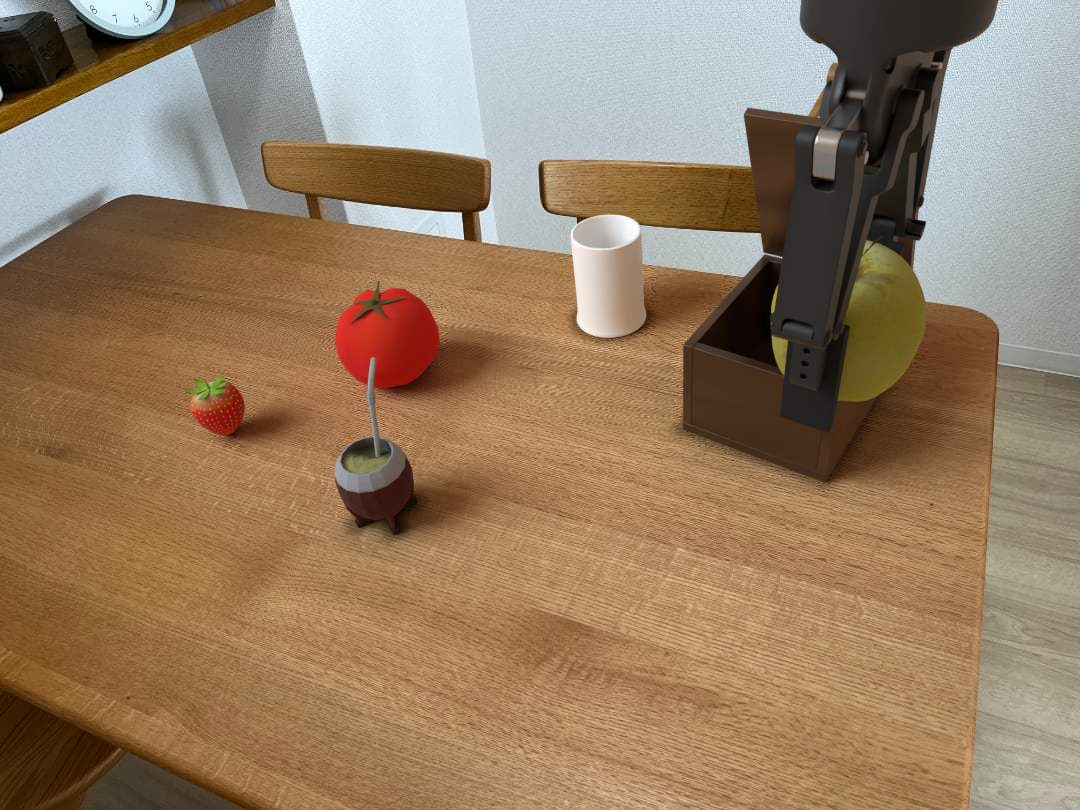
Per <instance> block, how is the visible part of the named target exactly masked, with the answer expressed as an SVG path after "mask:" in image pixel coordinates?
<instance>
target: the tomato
mask: <svg viewBox="0 0 1080 810" xmlns="http://www.w3.org/2000/svg"><path fill="white" fill-rule="evenodd" d="M347 307H348V308H346V309H345V310H343V312H342V313H341V315H339V317H338V320H337V324H336V328H335V333H334V346H335V349H336V353H337V356H338V359H339V361H340V362H341V364H342V366H343V367H344V369H345V370H346V371H347V372H348V373H349V374H350V376H352V377H353V378H354V379H355V380H356V381H357V382H360V383H361V384H363V385H366V386H368V377H369V369H370V361H371V358H376V366H375V375H374V389H375V388H376V389H386V388H387V389H388V388H394V387H401V386H404V385H408V384H410V383H412V382H414V381H415V380H417V379H418V378H419V377H420V376H421V375H422V374H423V373H424V372H425V371H426V370H427V369H428V367H429V366H430V365H431V364H432V362H433V361H434V360H435V359H436V356H437V353H438V350H439V347H440V345H441V340H440V339H441V338H440V331H439V330H440V329H439V325H438V324H437V321H436V320H435V318H434V315H433V313H432V312H431V309H430V308H429V307H428V305H426V303H425V302H424V301H423V300H422V299H421V298H420V297H418V296H416V295H415V294H414V293H412V292H410V291H409V290H407V289H406V288H400V287H399V288H398V287H389V288H387V289H385V290H384V291H382V292H380V280H378V281H377V283H376V288H375V290H373V289H366V290H364V291H363V292H361V293H359V294H358V295H356V296H355V297H354V300H353V301H352V303H351V304H350V305H347Z"/></svg>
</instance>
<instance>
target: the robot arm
mask: <svg viewBox="0 0 1080 810" xmlns="http://www.w3.org/2000/svg"><path fill="white" fill-rule="evenodd" d="M998 4H999V0H800V7H799V24H800V25H799V26H800V28H801V29H802V32H803V33H804V34H805V35H806V37H808V39H809V40H812V41H813V42H814V43H817V44H819V45H823V46H825V47H827V48H828V49H829V50H831V52H832V53H833V54H834V55H835V56H836V58H837V61H836V62H837V63H838V66H837V67H836V69H835V73H834V78H833V80H829V81H828V83H827V84H826V83H825V85H826V87H825V86H824V87H825V89H824V88H823V89H824V93H823V97H822V101H821V105H820V109H819V117H818V118H820V120H821V122H822V123H821V126H815V125H808V124H803V125H802V126H801V128H800V130H799V132H798V134H797V136H796V139H795V176H794V188H793V195H792V201H791V207H790V214H789V220H788V226H787V233H786V239H785V245H784V252H783V257H781V258H782V264H781V271H780V277H779V283H778V290H777V296H776V303H775V309H774V312H773V313H771V316H770V321H771V323H772V324H771V335H772V336H774V337H778V338H781V339H784V340H788V345H787V354H786V363H785V372H784V381H783V391H782V400H781V409H780V417H782V418H785V419H788V420H791V421H794V422H797V423H800V424H803V425H806V426H809V427H812V428H815V429H818V430H821V431H824V432H827V433H828V432H829V431H830V429H831V428H832V426H833V424H834V418H835V412H836V406H837V401H838V395H839V389H840V383H841V377H842V371H843V365H844V359H845V354H846V348H847V342H848V336H849V330H850V326H849V325H845V324H844V320H845V316H846V313H847V309H848V305H849V302H850V298H851V294H852V291H853V287H854V284H855V280H856V276H857V273H858V269H859V265H860V262H861V258H862V254H863V251H864V247H865V244H866V240H868V241H872V242H874V241H875V240H877V239H878V238H879V237H881V236H885V237H884V238H883V239H882V240H880V241H879V242H877V243H879V244H881V245H883V246H885V247H887V248H889V249H891V250H893V251H894V252H896V253H897V254H898V255H900V256H901V257H902V258H903V253H904V248H905V243H901V242H897V241H898V237H902V238H907V239H912V240H916V242H917V241H918V242H919V241H920V240H921V239H922V237H923V235H924V232H925V229H926V226H927V220H923V219H918V220H917V219H912V212H918V211H919V210H920V209H921V208H922V207H923V206H924V203H925V197H924V196H925V189H926V185H927V179H928V173H929V167H930V162H931V156H932V150H933V145H934V139H935V134H936V127H937V122H938V116H939V111H940V105H941V99H942V95H943V94H942V93H943V88H944V82H945V77H946V73H947V69H948V65H949V60H950V57H951V53H952V50H953V49H954V48H956V47H959V46H962V45H964V44H967V43H969V42H972V41H973V40H975V39H976V38H978V37H980V36H981V35H982V34H983V33H984V32H986V31H987V30H988V29H989V27H990V26H991V24H992V23H993V21H994V19H995V16H996V13H997V9H998ZM918 213H919V212H918Z"/></svg>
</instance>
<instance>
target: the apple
mask: <svg viewBox="0 0 1080 810" xmlns="http://www.w3.org/2000/svg"><path fill="white" fill-rule="evenodd" d="M884 237H885V236H881V237H879V238H878V239H877V240H875V241H874V242H872V241H868V240H866V244H865V247H864V251H863V254H862V258H861V262H860V265H859V269H858V273H857V276H856V280H855V284H854V287H853V291H852V294H851V298H850V302H849V305H848V309H847V313H846V316H845V320H844V324H845V325H849V326H850V330H849V336H848V342H847V348H846V354H845V359H844V365H843V371H842V377H841V383H840V389H839V395H838V400H842V401H854V402H859V401H866V400H869V399H872V398H874V397H876V396H877V395H878V396H879V395H881V394H883V393H884V392H886V391H887V390H888V389H890V388H891V387H893V386H895V384H896V383H897V382H898V380H899V379H900V378H902V377H903V375H904V374H905V373H906V371H907V369H908V368H909V366H910V365H911V363H912V362H913V359H914V357H915V356H916V354H917V352H918V350H919V348H920V345H921V343H922V341H923V338H924V335H925V330H926V325H927V303H926V298H925V294H924V291H923V288H922V286H921V284H920V281H919V279H918V276H917V275H916V273H915V271H914V269H913V270H912V268H911V267H910V265H909V264H908V263H907V262H906V261H905V260H904V259H903V258H902V257H901V256H900V255H898V254H897V253H896V252H894V251H893V250H891V249H889V248H887V247H885V246H883V245H881V244H879V243H877V242H879V241H880V240H882V239H883V238H884ZM777 290H778V286H777V288H776V291H775V293H774V297H773V301H772V308H771V313H773V312H774V309H775V303H776V296H777ZM771 324H772V323H771ZM772 345H773V351H774V355H775V359H776V362H777V364H778V367H779V369H780V370H781V372H782V374H783V375H784V372H785V363H786V354H787V345H788V340H784V339H781V338H778V337H774V336H772ZM878 396H877V397H878Z"/></svg>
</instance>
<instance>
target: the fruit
mask: <svg viewBox="0 0 1080 810" xmlns="http://www.w3.org/2000/svg"><path fill="white" fill-rule="evenodd" d="M193 380H194V383H195V385H196V387H198V388H190V389H186V388H184V389H183V391H185V392H186V393H188V394H193V396H192V397H191V400H190V405H189V408H190V413H191V415H192V417H193V418H194V420H195V421H196V422H197V423H198V424H199V425H200V426H201V427H203V428H204V429H205V430H207V431H209V432H211V433H212V434H216V435H219V436H228V435H231V434H233V433H236V431H237V430H238V429H239V428H240V425H241V424H242V422H243V419H244V416H245V411H246V405H245V404H246V403H245V399H244V398H243V394H241V391H240V390H239V389H238V388H237V387H236V386H235V385H234V384H232V383H230V382H229V381H230V379H228V380H223V373H222V374H221V375H219V376H218V377H217V378H216V379H215V380H212V381H209V382H207V380H206V378H203V380H200V379H197V378H195V377H194V378H193Z"/></svg>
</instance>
